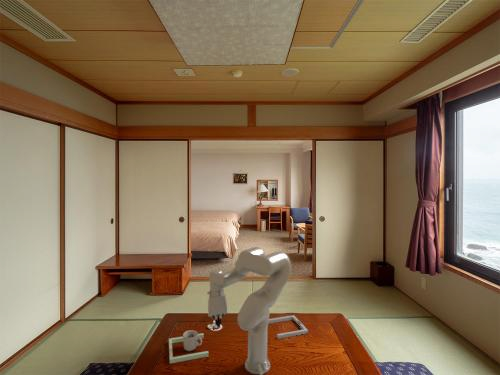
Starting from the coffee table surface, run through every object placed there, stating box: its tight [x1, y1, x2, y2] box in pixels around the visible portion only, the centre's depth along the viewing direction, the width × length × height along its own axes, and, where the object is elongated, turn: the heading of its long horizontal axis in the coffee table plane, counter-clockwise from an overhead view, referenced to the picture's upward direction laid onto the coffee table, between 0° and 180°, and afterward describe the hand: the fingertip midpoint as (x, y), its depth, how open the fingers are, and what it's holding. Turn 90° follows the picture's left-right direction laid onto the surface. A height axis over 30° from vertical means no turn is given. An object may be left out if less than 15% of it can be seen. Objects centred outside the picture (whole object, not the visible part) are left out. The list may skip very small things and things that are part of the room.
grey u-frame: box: [268, 315, 309, 340], centre depth 173 cm, size 19×20×3 cm
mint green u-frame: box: [168, 332, 209, 364], centre depth 151 cm, size 19×20×3 cm
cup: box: [182, 329, 203, 352], centre depth 152 cm, size 11×8×8 cm
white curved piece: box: [207, 319, 223, 332], centre depth 174 cm, size 9×8×4 cm
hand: (218, 325), depth 155 cm, fingers closed
